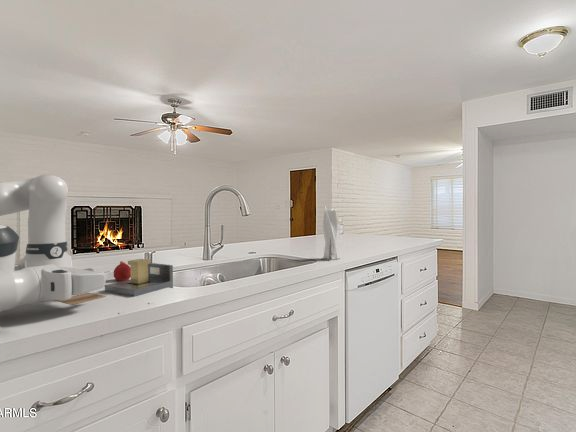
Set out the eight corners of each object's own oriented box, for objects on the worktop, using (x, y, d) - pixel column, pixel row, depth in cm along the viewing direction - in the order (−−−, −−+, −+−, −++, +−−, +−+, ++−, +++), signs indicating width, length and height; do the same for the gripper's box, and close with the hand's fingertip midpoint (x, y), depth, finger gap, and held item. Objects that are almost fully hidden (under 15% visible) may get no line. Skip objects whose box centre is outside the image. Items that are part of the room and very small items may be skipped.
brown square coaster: (54, 304, 86) (54, 300, 86) (88, 296, 94) (88, 292, 94) (72, 309, 82) (72, 304, 82) (106, 300, 90) (106, 296, 90)
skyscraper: (318, 258, 163) (318, 205, 163) (329, 257, 169) (328, 205, 168) (331, 260, 157) (331, 205, 157) (341, 259, 163) (341, 205, 162)
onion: (127, 280, 115) (127, 259, 115) (134, 283, 111) (134, 260, 111) (110, 283, 111) (110, 261, 110) (117, 286, 107) (117, 262, 107)
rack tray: (104, 294, 96) (104, 268, 96) (144, 284, 109) (144, 262, 108) (134, 300, 90) (133, 273, 89) (173, 289, 102) (172, 265, 102)
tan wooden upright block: (128, 293, 98) (127, 260, 98) (141, 289, 102) (140, 258, 102) (138, 294, 96) (137, 261, 96) (150, 291, 100) (150, 259, 100)
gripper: (25, 290, 81) (81, 280, 93) (68, 301, 71) (124, 287, 84) (24, 266, 81) (80, 259, 93) (67, 274, 71) (124, 264, 83)
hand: (101, 272), depth 88 cm, fingers open, 8 cm apart
